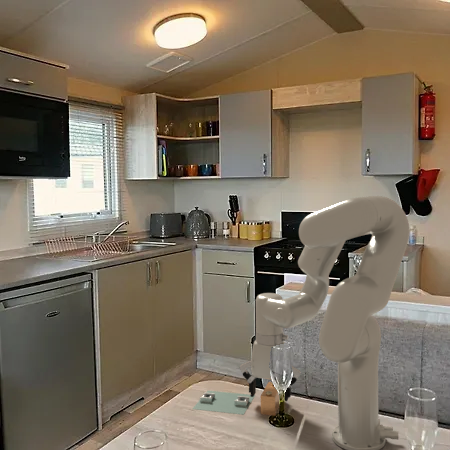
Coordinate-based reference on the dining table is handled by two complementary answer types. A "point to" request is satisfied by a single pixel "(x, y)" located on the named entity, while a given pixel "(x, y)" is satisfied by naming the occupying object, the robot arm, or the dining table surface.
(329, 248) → the robot arm
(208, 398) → the chain ends
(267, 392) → the wooden block with studs
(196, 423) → the dining table surface
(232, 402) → the board
